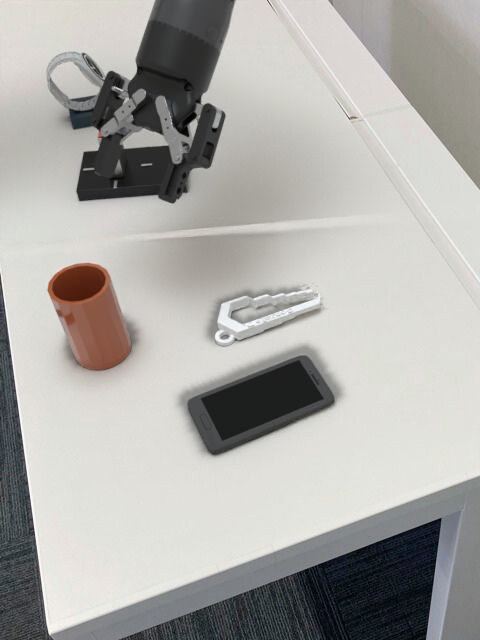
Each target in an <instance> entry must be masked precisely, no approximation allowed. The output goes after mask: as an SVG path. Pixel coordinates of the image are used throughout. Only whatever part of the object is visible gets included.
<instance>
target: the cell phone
mask: <svg viewBox="0 0 480 640" xmlns="http://www.w3.org/2000/svg"><path fill="white" fill-rule="evenodd" d="M335 398H336V397H335V395H334V393H333V391H332V390H331V387H329V385H328V384H327V381H326V380H325V378H323V376H322V374H321V373H320V371H319V369H318V368H317V367H316V365H315V364H314V362H313V361H312V359H311V358H310V357H309V356H308V355H306V354H301V355H297V356H295V357H291V358H289V359H287V360H284V361H281V362H279V363H276V364H274V365H271V366H269V367H266V368H264V369H261V370H258V371H256V372H253V373H251V374H248V375H246V376H244V377H241V378H238V379H235V380H233V381H231V382H228V383H225V384H223V385H220V386H217V387H215V388H213V389H210V390H208V391H205V392H202V393H200V394H198V395H195V396H192V397H191V398H189V399H188V401H187V409H188V412H189V413H190V414H189V415H190V416H191V418H192V420H193V422H194V424H195V426H196V428H197V430H198V432H199V434H200V437H201V439H202V440H203V442H204V444H205V447H206V449H207V450H208V451H209V452H210V453H211V454H213V455H214V454H219V453H222V452H224V451H228V450H229V449H232V448H234V447H236V446H239V445H242V444H244V443H246V442H248V441H251V440H253V439H255V438H258V437H261V436H263V435H265V434H268V433H270V432H272V431H275V430H277V429H280V428H283V427H284V426H287V425H289V424H292V423H294V422H296V421H299V420H301V419H303V418H306V417H308V416H310V415H313V414H315V413H318V412H320V411H322V410H326V409H327V408H329V407H331V406H332V405H333V404H334V403H335V400H336V399H335Z"/></svg>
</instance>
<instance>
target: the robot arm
mask: <svg viewBox="0 0 480 640" xmlns="http://www.w3.org/2000/svg"><path fill="white" fill-rule="evenodd" d="M236 1H237V0H154V2H153V5H152V9H151V12H150V14H149V17H148V20H147V23H146V26H145V29H144V33H143V35H142V38H141V41H140V45H139V47H138V50H137V53H136V55H135V61H134V62H135V64H136V72H135V74H134V76H133V77H132V78H131V79H129V78H127V77H125V76H124V75H122V74H120V73H118V72H116V71H114V70H109V71H108V72H107V73H106V74H105V77H106V78H105V80H104V83H103V86H102V88H101V91H100V93H99V92H98V93H99V96H98V99H97V101H96V104H95V107H94V109H93V112H92V114H91V117H90V121H89V122H90V124H91V125H92V126H91V127H94V128H95V129H96V130H97V131H98V133H99V132H100V133H101V135H102V139H101V143H100V146H98V149H97V151H98V153H97V155H96V158H95V161H94V167H95V169H94V171H95V173H96V174H98V175H101V176H103V177H106V178H109V179H110V178H112V177H113V175H114V172H115V169H116V166H117V163H118V160H119V157H120V154H121V151H122V148H123V146H122V145H120V143H122V142H123V143H124V141H125V140H127V139H128V138H129V137H131V136H132V135H133V134H134V133H139V132H141V131H142V130H147V131H149V132H152V133H157V134H158V135H161V136H163V138H164V140H165V142H166V143H167V145H169V149H170V153H171V158H172V161H173V164H171V163H169V164H168V167H167V170H166V173H165V176H164V179H163V182H162V185H161V187H160V190H159V193H158V195H157V197H158V199H159V200H161V201H164V202H167V203H168V204H169V203H170V204H176V202H177V200H180V198H181V197H182V196H183V194H184V193H183V190H184V187H185V184H186V182H187V179H188V180H189V176H190V173H191V171H192V170H194V169H205V170H209V169H210V168H211V167H212V165H213V164H212V163H213V161H214V157H215V155H216V151H217V148H218V145H219V141H220V138H221V134H222V131H223V127H224V123H225V121H226V117H227V115H226V113H225V111H224V110H222V109H220V108H219V107H216V106H215V105H213V104H212V103H210V102H206V103H205V104H203V103H202V99H203V98H202V97H203V95H204V94H206V93H207V92H208V91H209V88H210V85H211V82H212V79H213V76H214V74H215V70H216V68H217V65H218V62H219V59H220V56H221V53H222V50H223V47H224V45H225V41H226V39H227V36H228V33H229V29H230V27H231V22H232V17H233V16H232V15H233V12H234V8H235V5H236ZM126 99H128V100H127V101H126ZM125 101H126V102H125ZM104 118H105V119H104ZM194 121H196V123H197V125H196V129H195V132H194V135H193V134H192V133H193V132H192V129H191V125H190V124H192V123H193V122H194Z"/></svg>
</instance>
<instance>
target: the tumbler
mask: <svg viewBox="0 0 480 640" xmlns="http://www.w3.org/2000/svg"><path fill="white" fill-rule="evenodd" d="M46 291H47V293H48V296H49V298H50V301H51V303H52V305H53V308H54V310H55V312H56V313H55V314H56V316H57V317H58V320H59V322H60V325H61V328H62V329H63V331H64V334H65V337H66V339H67V341H68V344H69V346H70V348H71V351H72V354H73V356H74V358H75V360H76V362H77V363H78V365H80V366H81V367H83V368H85V369H87V370H91V371H103V370H108V369H111V368H114V367H115V366H118V365H119V364H121V363H122V362H123V361H125V360H126V358H127V357H128V356H129V355H130V352H131V350H132V341H131V336H130V334H129V329H128V327H127V324H126V320H125V318H124V315H123V312H122V308H121V306H120V302H119V299H118V296H117V292H116V290H115V287H114V284H113V281H112V278H111V275H110V274H109V272H108V269H107V268H105V267H103V266H101V265H100V264H97V263H91V262H80V263H74V264H71V265H68V266H65V267H64V268H61V269H60V270H59V271H57V272H56V273H55V274H54V275H52V277H51V278H50V280H49V281H48V285H47V290H46Z"/></svg>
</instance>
